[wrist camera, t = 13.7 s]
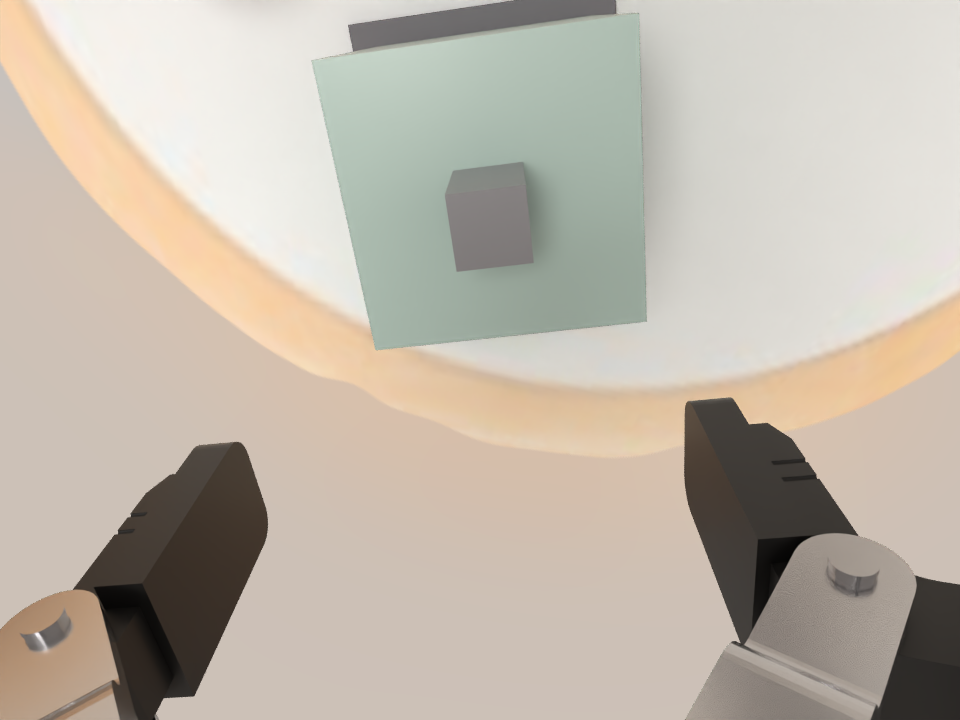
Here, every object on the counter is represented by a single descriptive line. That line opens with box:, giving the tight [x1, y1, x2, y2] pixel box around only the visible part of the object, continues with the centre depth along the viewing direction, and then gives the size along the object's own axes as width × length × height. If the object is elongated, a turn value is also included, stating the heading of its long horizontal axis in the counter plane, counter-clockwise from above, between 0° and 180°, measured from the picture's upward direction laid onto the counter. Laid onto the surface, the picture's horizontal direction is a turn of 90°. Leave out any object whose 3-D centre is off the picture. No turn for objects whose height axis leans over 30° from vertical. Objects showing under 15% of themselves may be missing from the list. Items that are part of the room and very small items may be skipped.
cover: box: [312, 13, 647, 350], centre depth 35 cm, size 13×13×20 cm
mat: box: [348, 0, 616, 52], centre depth 44 cm, size 16×16×1 cm
